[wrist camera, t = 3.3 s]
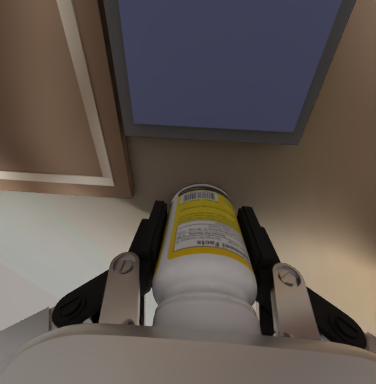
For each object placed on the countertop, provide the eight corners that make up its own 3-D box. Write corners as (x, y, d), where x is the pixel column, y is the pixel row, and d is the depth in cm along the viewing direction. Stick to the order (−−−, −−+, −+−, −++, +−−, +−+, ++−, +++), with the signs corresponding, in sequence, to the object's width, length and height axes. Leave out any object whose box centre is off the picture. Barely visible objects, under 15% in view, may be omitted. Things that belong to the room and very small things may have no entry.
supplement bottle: (201, 239, 14) (204, 387, 7) (157, 209, 13) (108, 360, 6) (246, 208, 12) (311, 372, 5) (200, 168, 11) (205, 324, 4)
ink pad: (403, -183, 5) (487, -294, 3) (287, 139, 10) (301, 147, 8) (90, -188, 5) (48, -295, 4) (132, 130, 10) (121, 137, 8)
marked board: (87, -99, 6) (75, -119, 5) (134, 193, 12) (130, 199, 12) (-242, -107, 6) (-291, -129, 5) (-25, 183, 12) (-36, 188, 12)
